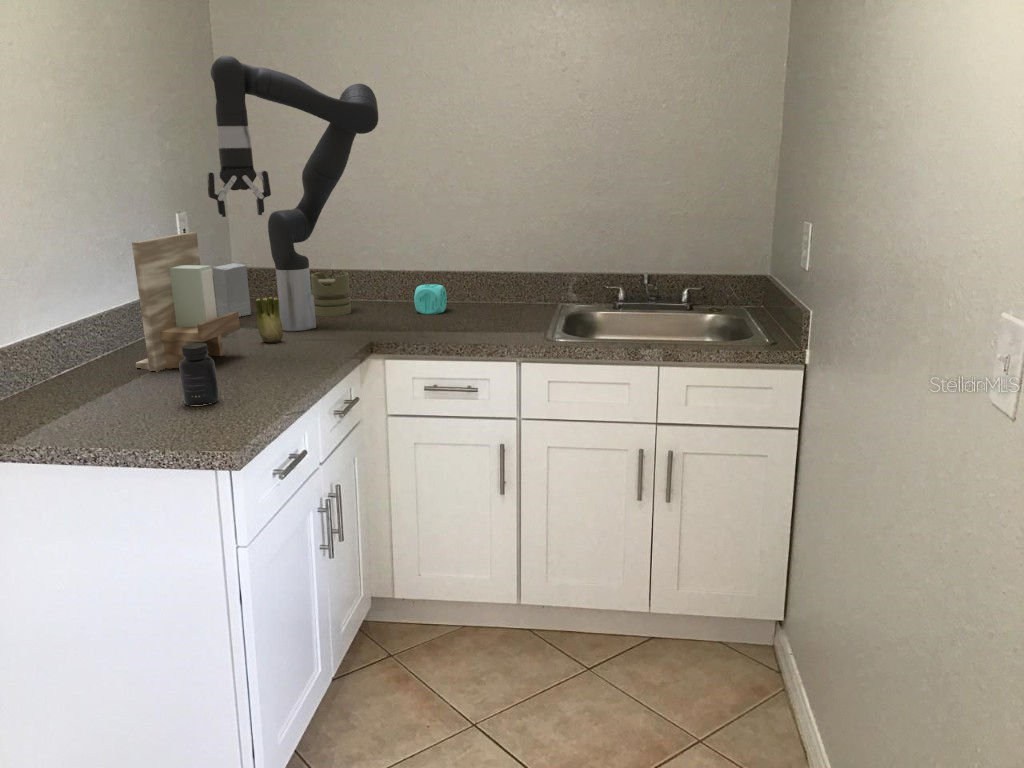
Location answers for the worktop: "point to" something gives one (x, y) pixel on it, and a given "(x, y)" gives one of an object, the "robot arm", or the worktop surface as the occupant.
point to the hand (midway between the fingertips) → (242, 215)
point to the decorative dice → (430, 299)
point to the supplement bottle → (198, 375)
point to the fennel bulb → (269, 320)
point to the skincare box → (231, 289)
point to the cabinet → (193, 294)
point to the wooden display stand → (171, 302)
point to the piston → (331, 294)
